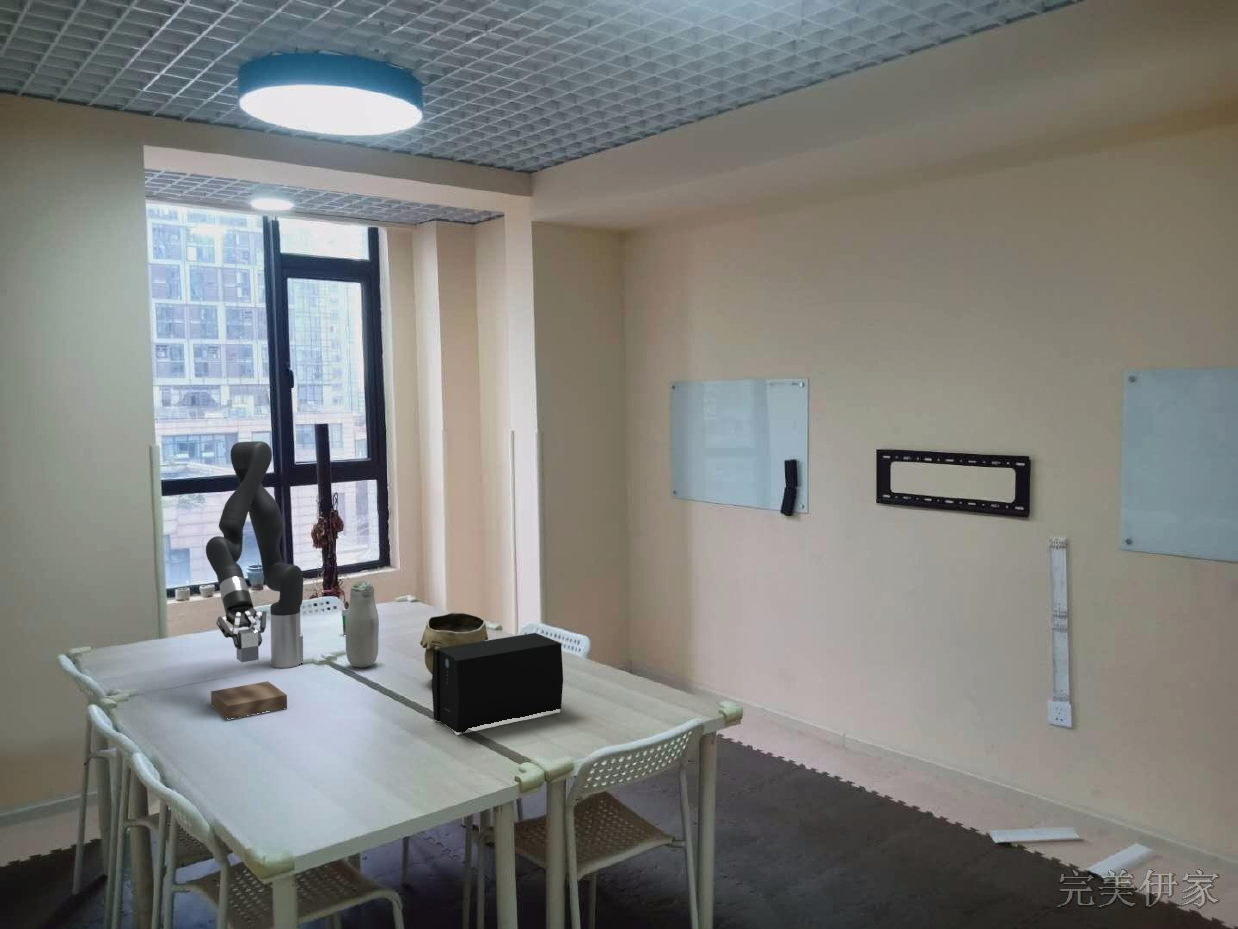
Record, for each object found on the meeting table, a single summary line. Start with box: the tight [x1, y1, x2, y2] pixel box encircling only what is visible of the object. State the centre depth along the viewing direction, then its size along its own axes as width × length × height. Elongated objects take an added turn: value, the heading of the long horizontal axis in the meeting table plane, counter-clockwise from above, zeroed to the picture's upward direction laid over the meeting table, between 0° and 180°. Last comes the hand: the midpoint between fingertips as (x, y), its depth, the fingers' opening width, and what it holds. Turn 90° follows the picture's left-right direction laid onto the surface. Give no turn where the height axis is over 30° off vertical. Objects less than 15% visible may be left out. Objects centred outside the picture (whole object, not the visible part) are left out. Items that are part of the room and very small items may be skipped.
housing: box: [236, 628, 259, 663], centre depth 268 cm, size 5×5×8 cm
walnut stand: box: [210, 680, 288, 719], centre depth 269 cm, size 16×16×4 cm
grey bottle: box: [345, 580, 380, 668], centre depth 309 cm, size 10×10×28 cm
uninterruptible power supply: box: [431, 632, 564, 733], centre depth 263 cm, size 16×34×20 cm, turn 126°
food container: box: [341, 609, 348, 636], centre depth 352 cm, size 12×6×10 cm, turn 168°
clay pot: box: [419, 612, 489, 675], centre depth 293 cm, size 21×21×20 cm
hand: (249, 646), depth 266 cm, fingers closed on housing, 4 cm apart
